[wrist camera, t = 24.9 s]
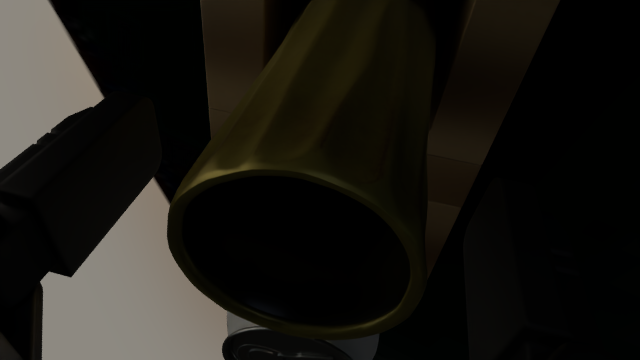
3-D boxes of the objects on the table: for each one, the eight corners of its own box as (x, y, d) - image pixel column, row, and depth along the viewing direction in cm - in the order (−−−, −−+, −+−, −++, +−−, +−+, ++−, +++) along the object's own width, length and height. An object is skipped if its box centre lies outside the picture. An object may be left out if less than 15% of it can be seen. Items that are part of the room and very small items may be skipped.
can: (278, 133, 24) (186, 315, 15) (391, 128, 22) (364, 331, 13) (301, 214, 28) (239, 397, 19) (398, 216, 26) (381, 418, 17)
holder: (239, -173, 15) (185, -175, 12) (570, -124, 14) (613, -110, 11) (245, 221, 29) (221, 271, 26) (412, 260, 28) (409, 318, 25)
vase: (279, 9, 19) (88, 227, 9) (387, -90, 16) (298, 62, 5) (358, 105, 22) (287, 370, 11) (467, 35, 18) (518, 319, 8)
